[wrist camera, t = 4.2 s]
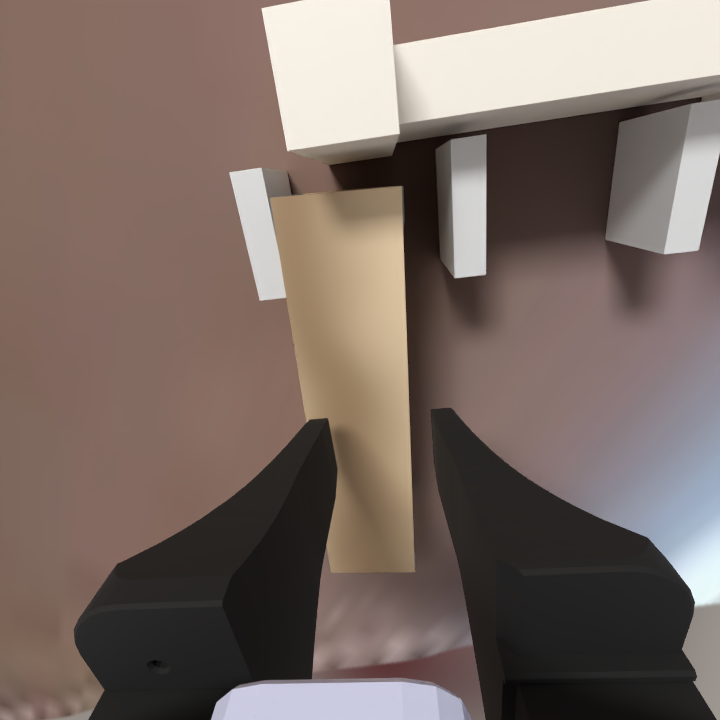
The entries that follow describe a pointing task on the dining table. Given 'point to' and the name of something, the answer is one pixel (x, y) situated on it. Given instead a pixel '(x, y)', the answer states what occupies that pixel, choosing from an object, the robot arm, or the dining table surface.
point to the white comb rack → (496, 111)
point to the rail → (354, 361)
